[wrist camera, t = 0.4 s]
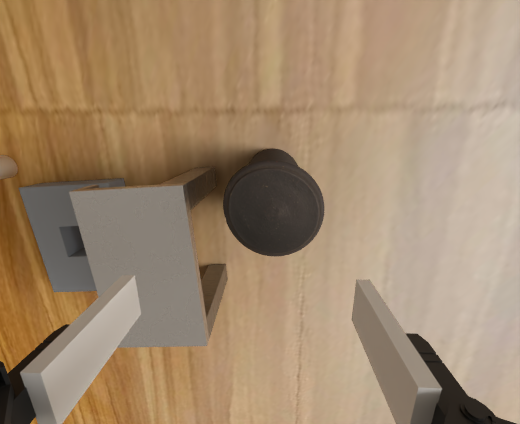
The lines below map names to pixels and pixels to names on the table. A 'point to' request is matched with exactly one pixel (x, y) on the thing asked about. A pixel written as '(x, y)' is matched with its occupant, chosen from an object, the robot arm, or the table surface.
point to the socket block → (61, 232)
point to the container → (273, 205)
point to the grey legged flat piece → (154, 255)
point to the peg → (7, 167)
